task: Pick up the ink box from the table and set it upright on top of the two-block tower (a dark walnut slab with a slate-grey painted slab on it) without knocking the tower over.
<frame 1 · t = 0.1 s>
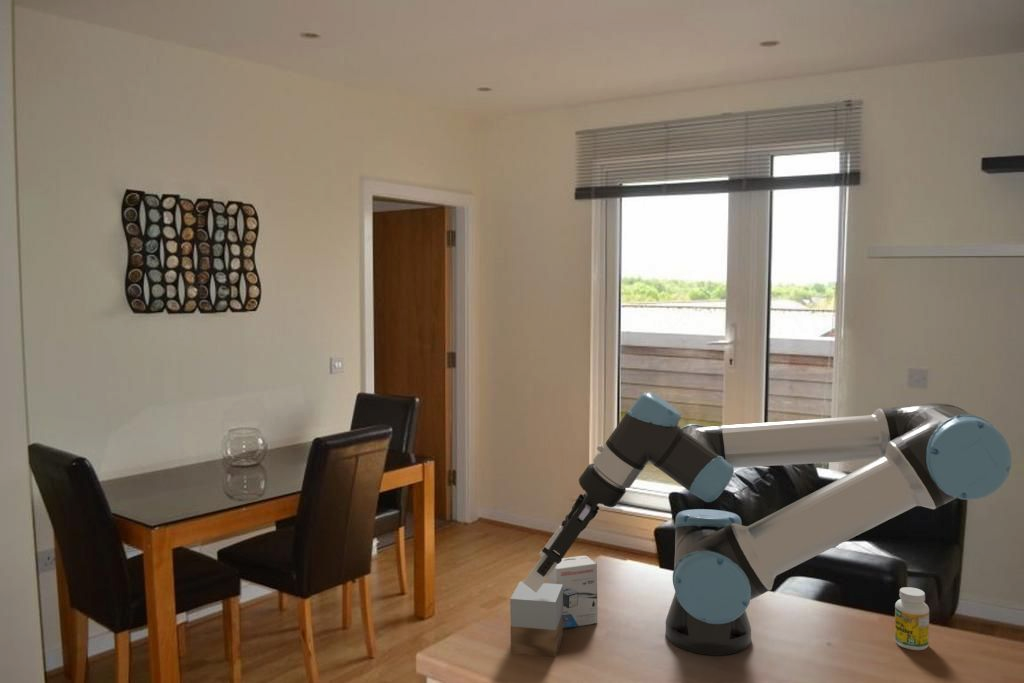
hand: (537, 572, 137), 15 cm above the table, tool tilted 35°, fingers open, 13 cm apart
ink box: (572, 622, 153), on the table
walnut block: (537, 645, 143), on the table
supplement bottle: (911, 645, 141), on the table
grey block: (537, 618, 143), point 5 cm above the table
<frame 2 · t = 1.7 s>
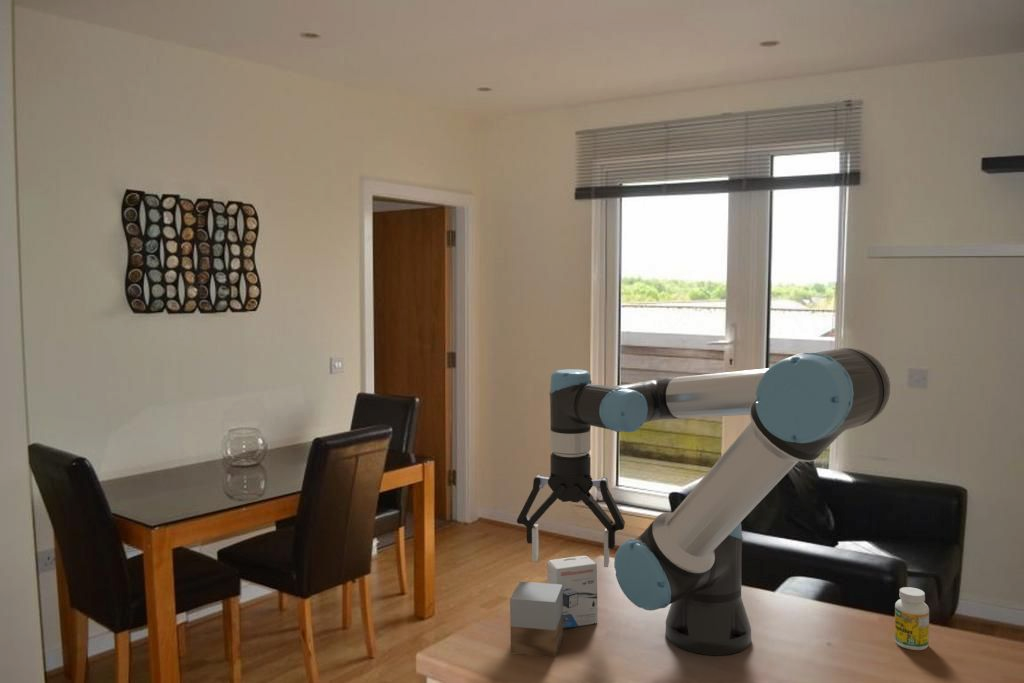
hand: (570, 562, 152), 12 cm above the table, tool pointing down, fingers open, 13 cm apart
walnut block: (537, 645, 143), on the table, touching grey block
grey block: (537, 618, 143), point 5 cm above the table, touching walnut block
everything else where it was.
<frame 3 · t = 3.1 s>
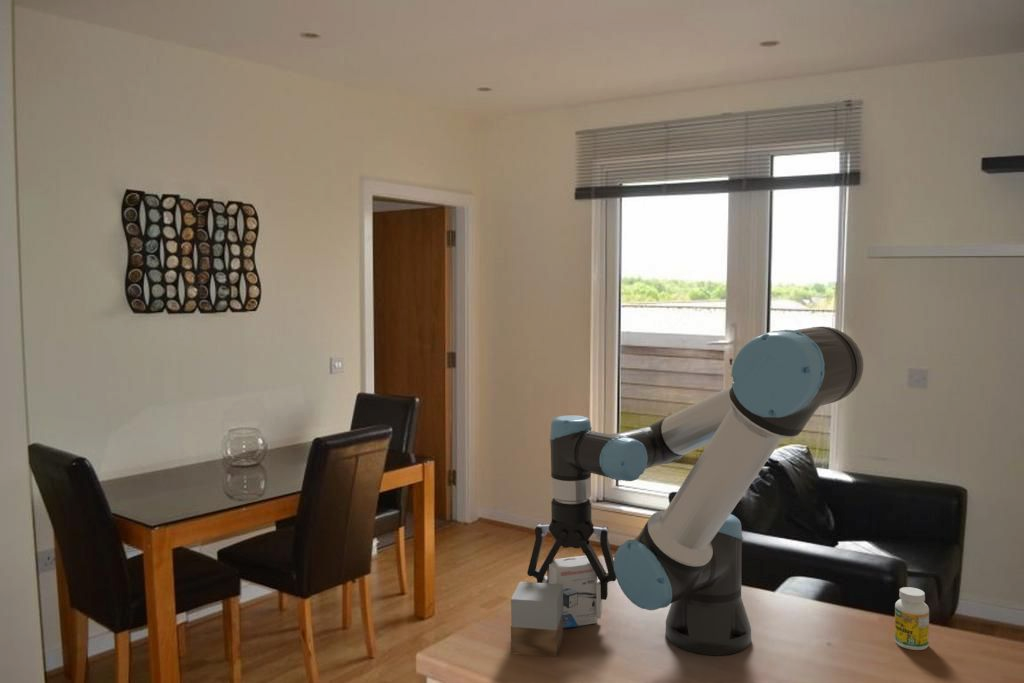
hand: (572, 613, 152), 2 cm above the table, tool pointing down, fingers closed on ink box, 9 cm apart
ink box: (572, 622, 153), on the table, touching gripper
walnut block: (537, 645, 143), on the table
grey block: (537, 618, 143), point 5 cm above the table
everything else where it was.
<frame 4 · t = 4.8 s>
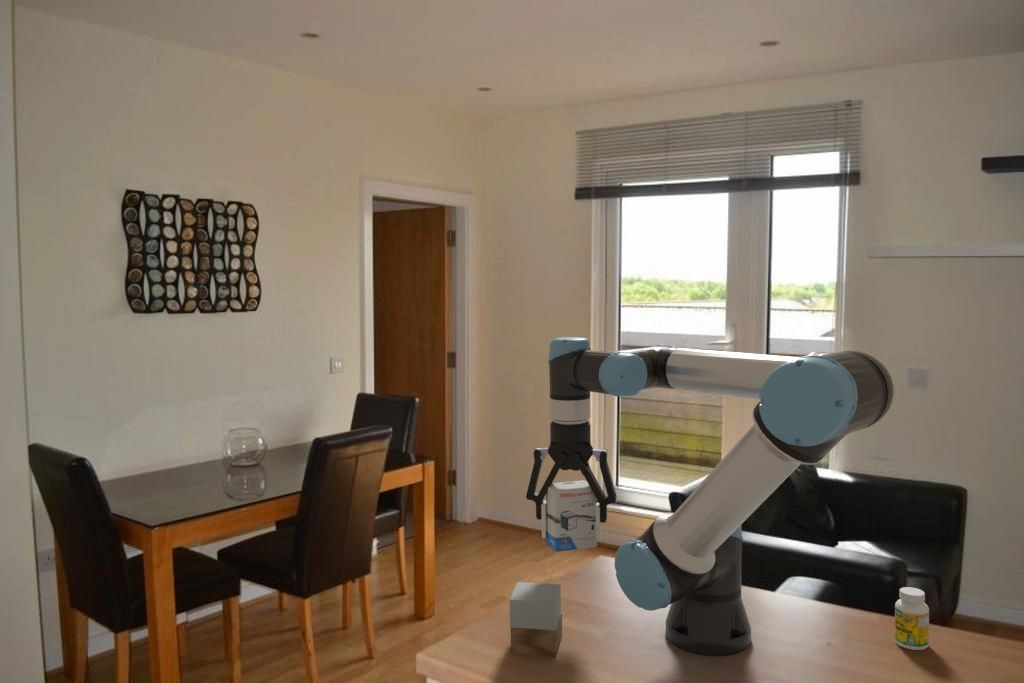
hand: (571, 537, 151), 16 cm above the table, tool pointing down, fingers closed on ink box, 9 cm apart
ink box: (571, 546, 151), point 15 cm above the table, touching gripper
walnut block: (537, 645, 143), on the table, touching grey block
grey block: (536, 618, 143), point 5 cm above the table, touching walnut block
everything else where it was.
when the fingers open (13 cm above the table, at t = 6.9 s): ink box drops 1 cm, resting on grey block.
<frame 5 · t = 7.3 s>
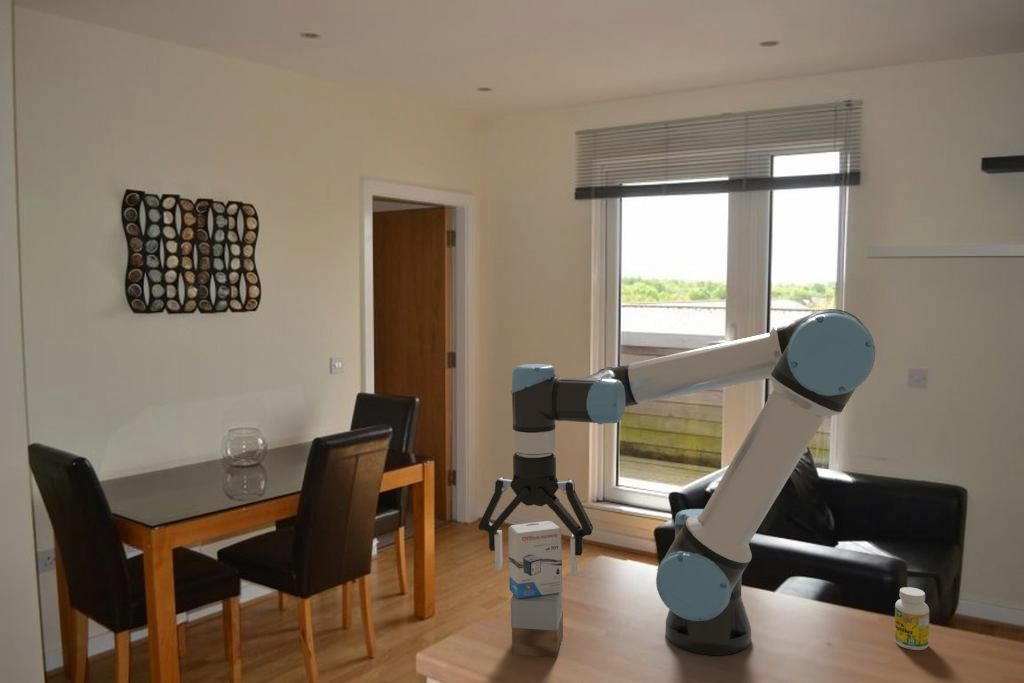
hand: (536, 570, 142), 14 cm above the table, tool pointing down, fingers open, 13 cm apart
ink box: (536, 592, 142), point 10 cm above the table, touching grey block
grey block: (537, 619, 143), point 5 cm above the table, touching ink box, walnut block
everything else where it was.
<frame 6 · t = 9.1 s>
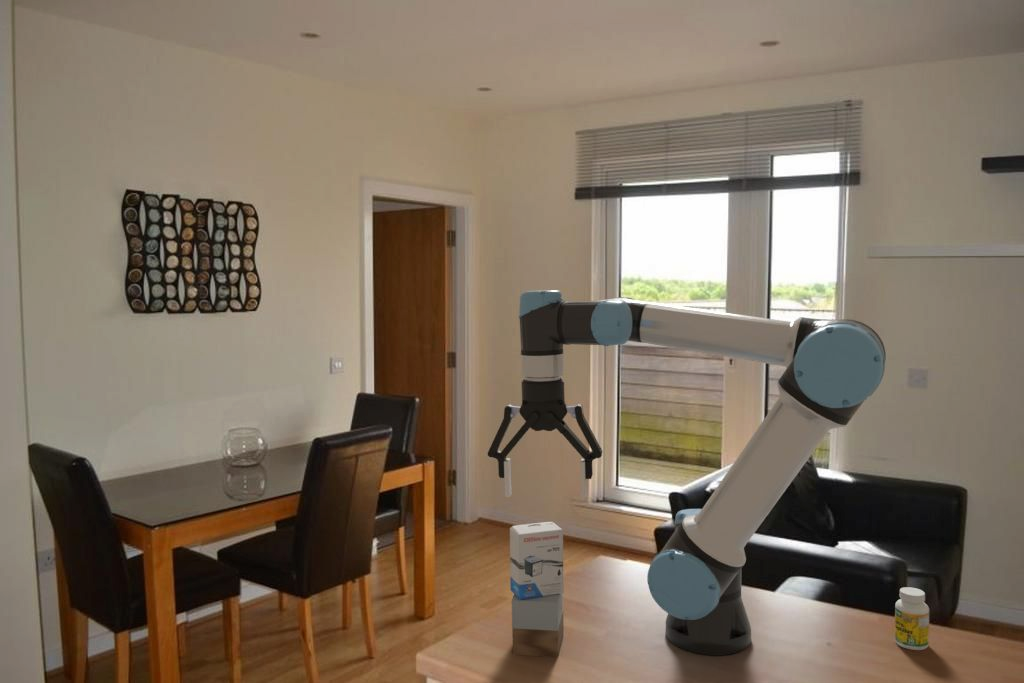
hand: (546, 496, 143), 27 cm above the table, tool pointing down, fingers open, 13 cm apart
nothing on the table moved.
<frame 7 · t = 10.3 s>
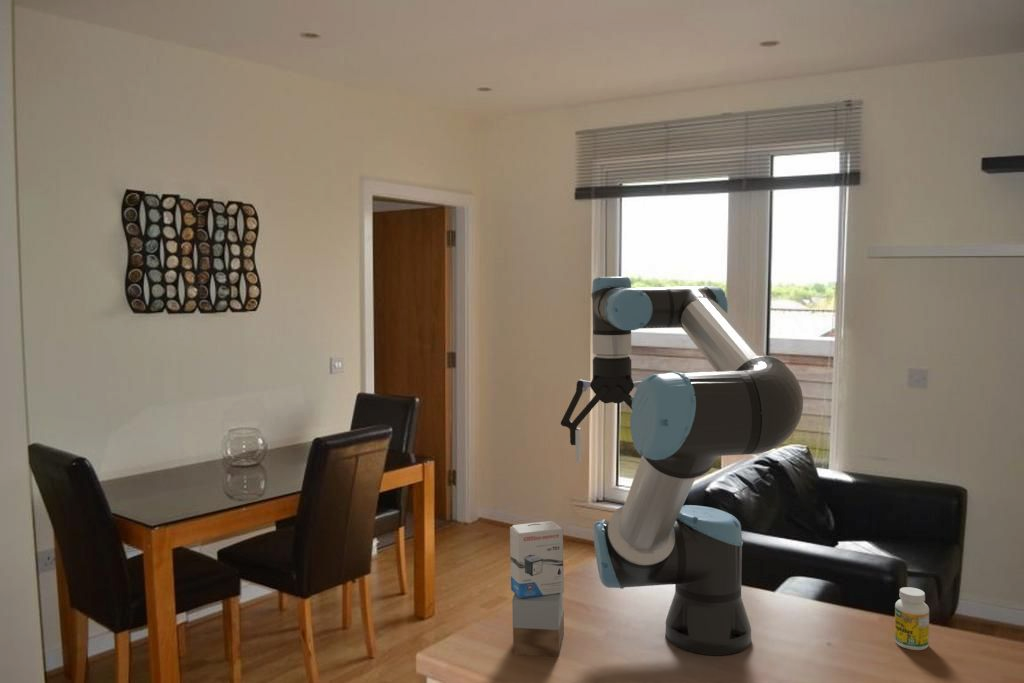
hand: (612, 462, 158), 29 cm above the table, tool pointing down, fingers open, 13 cm apart
nothing on the table moved.
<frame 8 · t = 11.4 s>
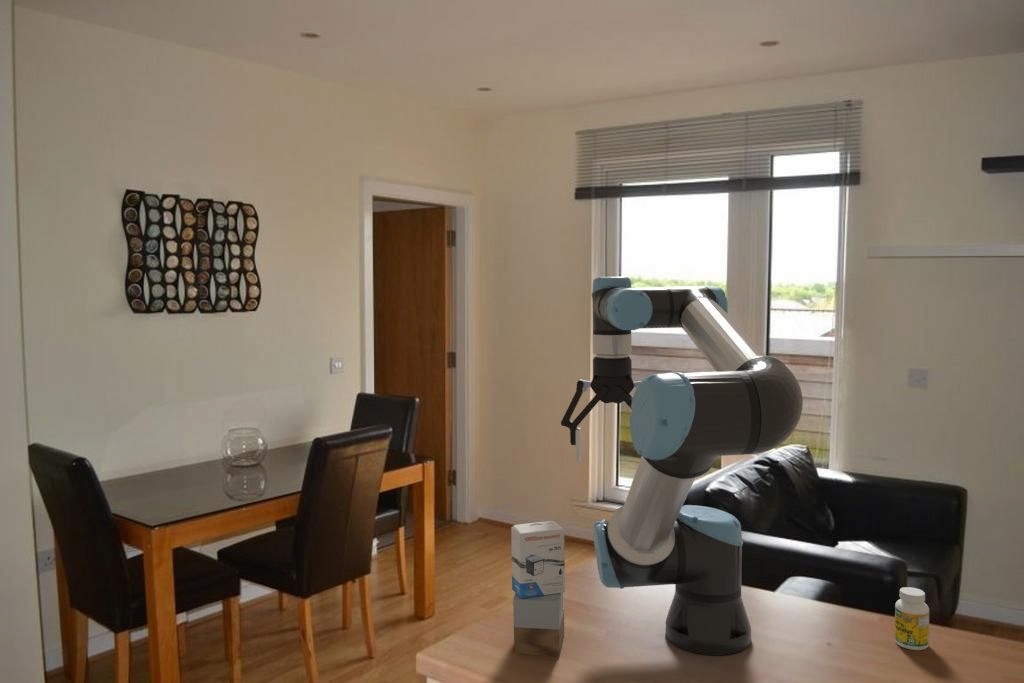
hand: (612, 462, 158), 29 cm above the table, tool pointing down, fingers open, 13 cm apart
nothing on the table moved.
at the end: ink box inside the target area on the grey block (0.2 cm from its centre), point 4.8 cm above the grey block's base; ink box tilted 0°; grey block tilted 0° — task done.
